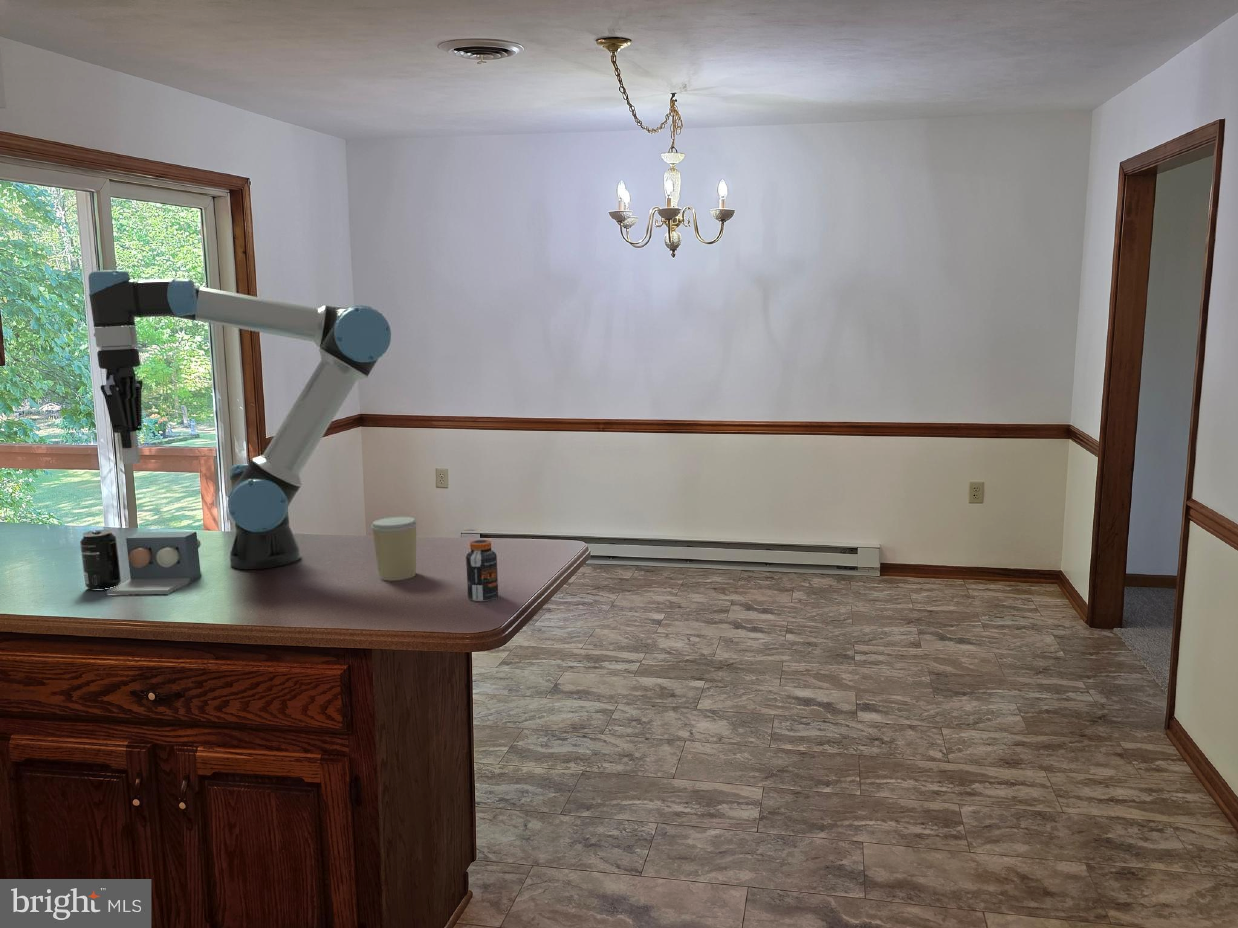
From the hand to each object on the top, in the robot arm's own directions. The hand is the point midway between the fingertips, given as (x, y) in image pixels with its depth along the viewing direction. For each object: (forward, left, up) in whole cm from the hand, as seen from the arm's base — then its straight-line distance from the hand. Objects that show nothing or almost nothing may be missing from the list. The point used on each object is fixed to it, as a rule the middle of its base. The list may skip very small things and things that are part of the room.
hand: (132, 463), depth 202 cm
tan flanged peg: (+2, -9, -23) cm, 24 cm away
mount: (-1, -2, -27) cm, 27 cm away
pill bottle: (-74, +10, -27) cm, 79 cm away
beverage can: (+10, -1, -27) cm, 29 cm away
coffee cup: (-52, -7, -27) cm, 59 cm away
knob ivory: (-4, -9, -23) cm, 25 cm away
